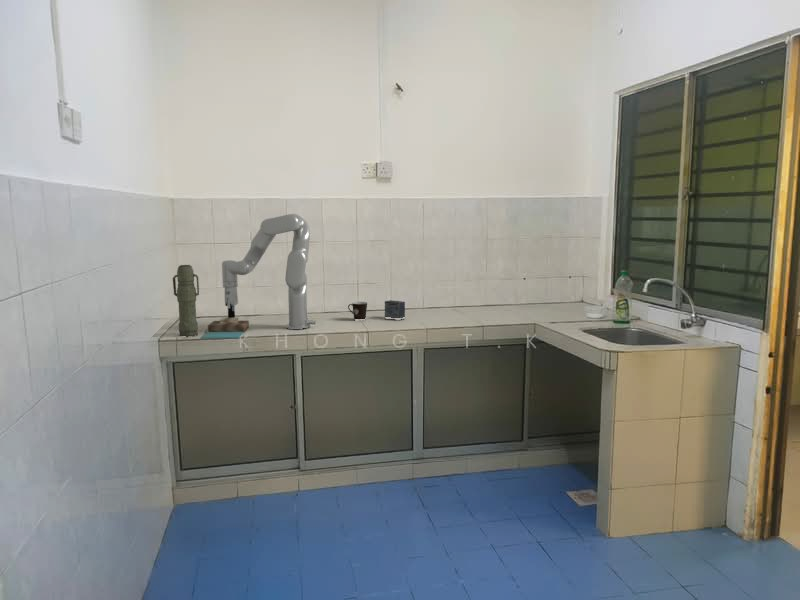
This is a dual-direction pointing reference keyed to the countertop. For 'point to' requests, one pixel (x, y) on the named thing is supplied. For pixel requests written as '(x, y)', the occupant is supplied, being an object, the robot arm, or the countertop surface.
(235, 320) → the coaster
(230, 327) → the riser
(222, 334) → the mat
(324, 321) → the countertop surface
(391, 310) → the small box
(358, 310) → the coffee mug
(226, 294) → the robot arm
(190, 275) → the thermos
